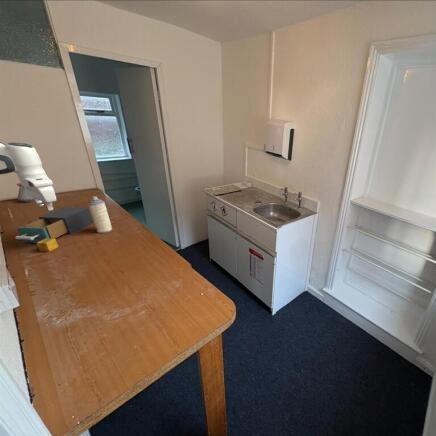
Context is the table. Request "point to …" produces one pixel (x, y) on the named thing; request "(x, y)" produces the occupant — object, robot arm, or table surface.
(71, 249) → the table surface
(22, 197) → the coffee pot
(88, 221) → the cabinet
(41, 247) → the block
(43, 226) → the drawer
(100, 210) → the aerosol can
